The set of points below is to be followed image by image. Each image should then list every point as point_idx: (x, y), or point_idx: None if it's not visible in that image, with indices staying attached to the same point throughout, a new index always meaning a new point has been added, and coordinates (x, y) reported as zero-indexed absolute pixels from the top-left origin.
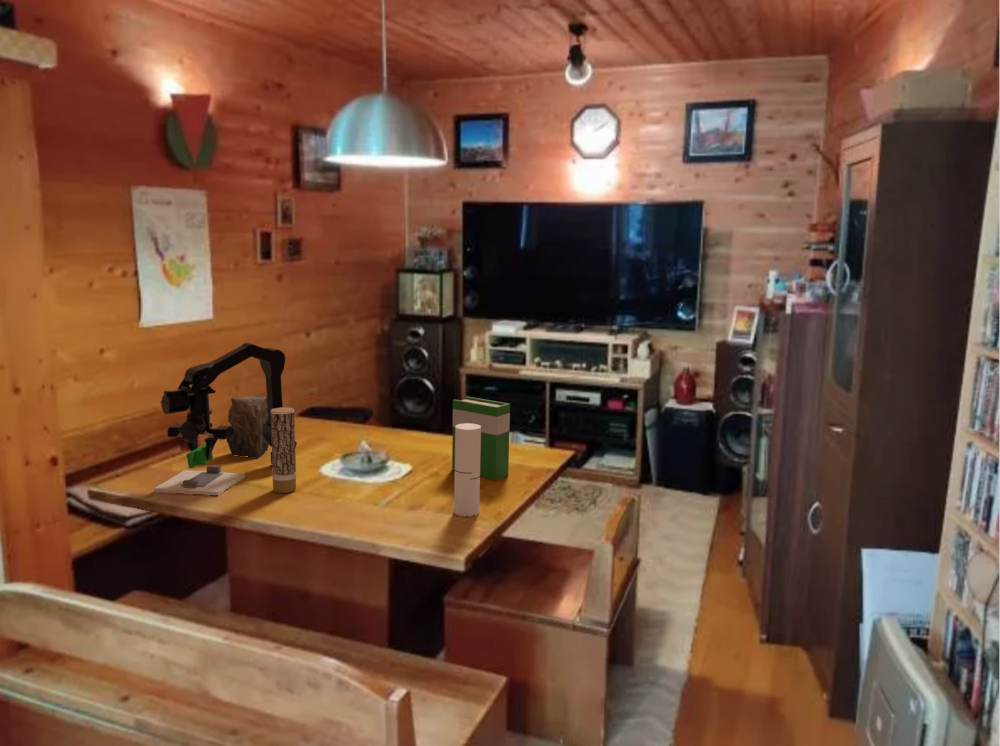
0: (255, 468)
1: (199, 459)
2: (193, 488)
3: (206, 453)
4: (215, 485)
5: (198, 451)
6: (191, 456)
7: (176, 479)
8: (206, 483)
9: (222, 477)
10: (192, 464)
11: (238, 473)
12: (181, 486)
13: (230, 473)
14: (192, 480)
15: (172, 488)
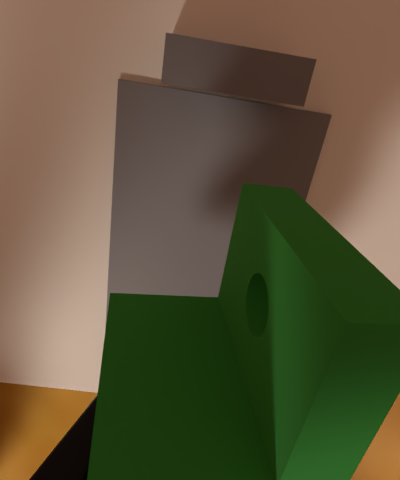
0: (8, 469)
1: (183, 346)
2: (194, 33)
3: (87, 464)
4: (31, 129)
5: (191, 477)
6: (293, 311)
7: (390, 266)
8: (123, 166)
9: (73, 310)
10: (251, 218)
11: (10, 379)
12: (321, 94)
13: (60, 378)
14: (219, 88)
15: (395, 26)
